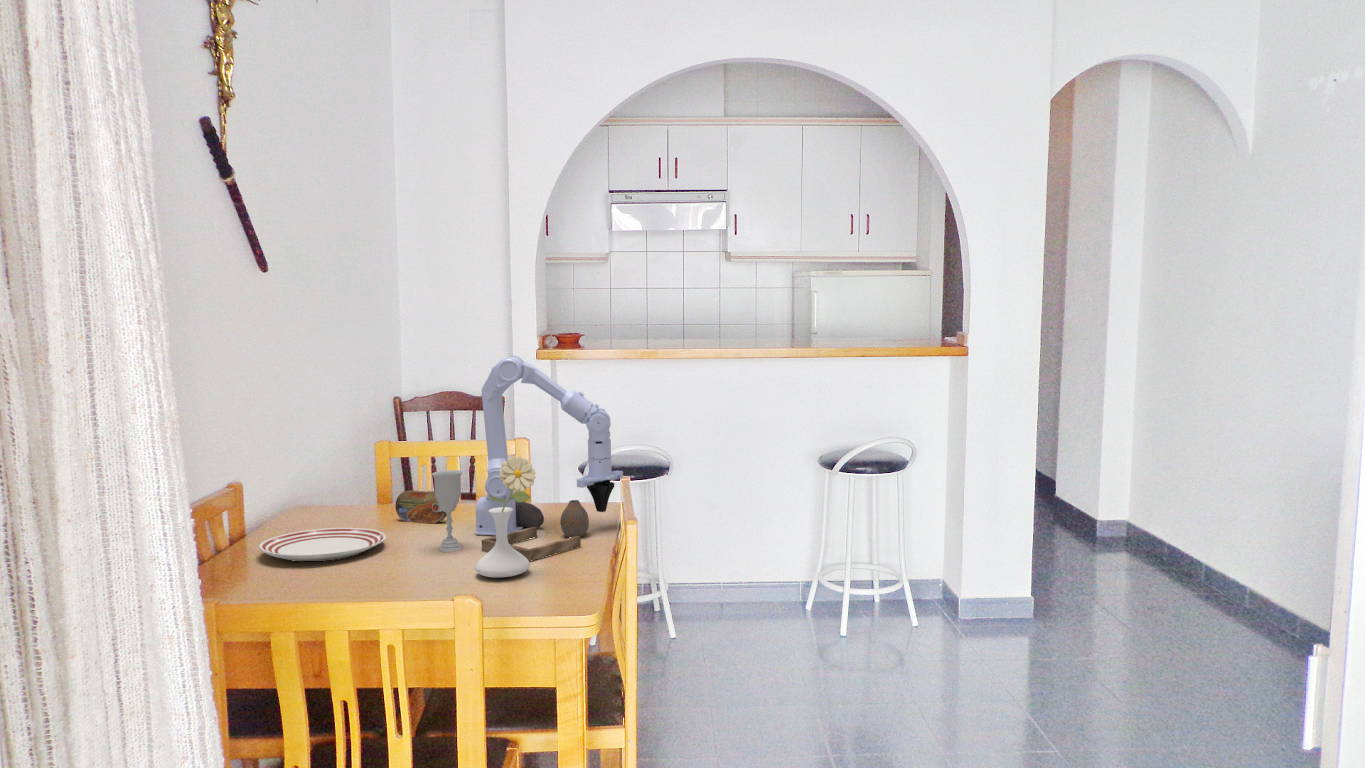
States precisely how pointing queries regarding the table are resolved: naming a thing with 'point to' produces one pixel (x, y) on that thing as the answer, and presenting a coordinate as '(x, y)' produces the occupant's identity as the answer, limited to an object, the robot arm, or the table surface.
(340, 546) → the dinner plate
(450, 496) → the chalice
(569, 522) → the vase
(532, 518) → the perforated stone tool
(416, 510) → the tin
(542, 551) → the tray
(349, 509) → the table surface
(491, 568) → the flower in vase
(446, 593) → the table surface
